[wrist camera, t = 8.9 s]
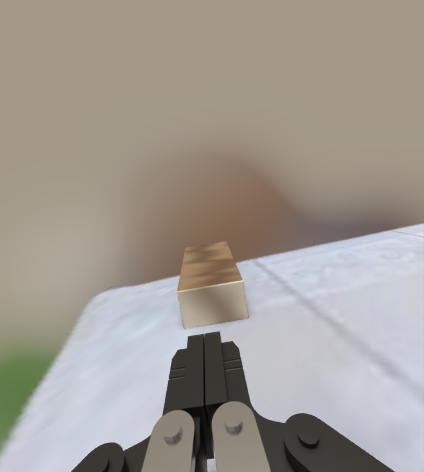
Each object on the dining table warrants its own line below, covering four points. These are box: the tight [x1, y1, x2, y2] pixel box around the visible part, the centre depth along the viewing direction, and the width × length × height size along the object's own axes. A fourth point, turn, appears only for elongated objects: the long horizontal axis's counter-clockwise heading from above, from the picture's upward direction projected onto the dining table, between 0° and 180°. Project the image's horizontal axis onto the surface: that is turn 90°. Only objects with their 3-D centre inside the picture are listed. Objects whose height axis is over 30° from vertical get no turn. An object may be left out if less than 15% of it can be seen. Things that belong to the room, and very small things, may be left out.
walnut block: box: [177, 242, 248, 329], centre depth 32 cm, size 7×4×16 cm
